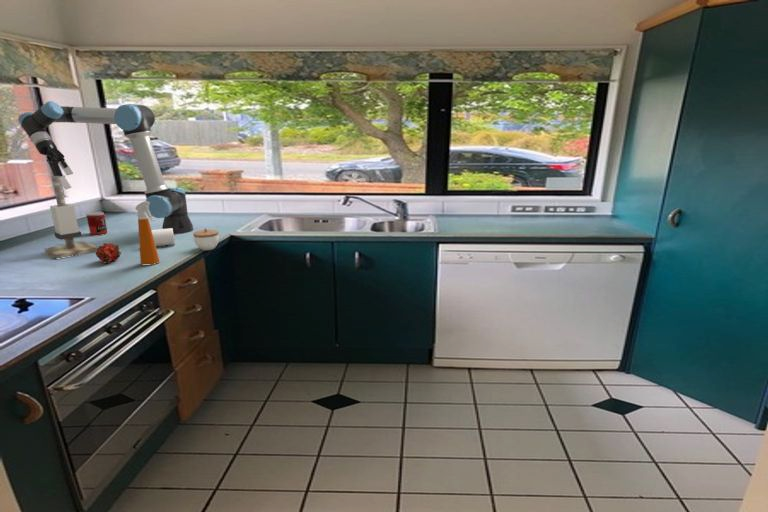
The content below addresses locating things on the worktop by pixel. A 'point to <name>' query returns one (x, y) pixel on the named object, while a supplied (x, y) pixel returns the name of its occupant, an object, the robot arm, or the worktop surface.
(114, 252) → the dragon fruit
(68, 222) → the sleeve
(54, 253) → the pipe stand
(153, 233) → the mug
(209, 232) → the lidded jar
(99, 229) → the canned food
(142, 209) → the spray bottle
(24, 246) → the worktop surface
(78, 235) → the thin dark grey plate
